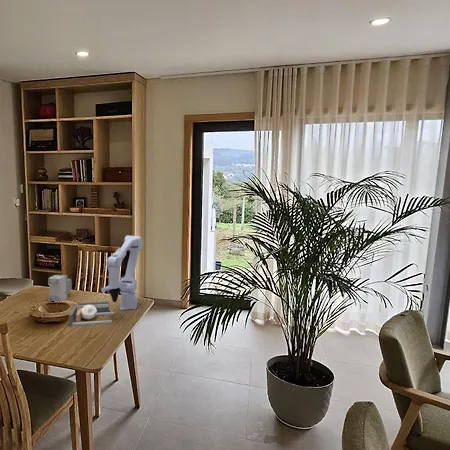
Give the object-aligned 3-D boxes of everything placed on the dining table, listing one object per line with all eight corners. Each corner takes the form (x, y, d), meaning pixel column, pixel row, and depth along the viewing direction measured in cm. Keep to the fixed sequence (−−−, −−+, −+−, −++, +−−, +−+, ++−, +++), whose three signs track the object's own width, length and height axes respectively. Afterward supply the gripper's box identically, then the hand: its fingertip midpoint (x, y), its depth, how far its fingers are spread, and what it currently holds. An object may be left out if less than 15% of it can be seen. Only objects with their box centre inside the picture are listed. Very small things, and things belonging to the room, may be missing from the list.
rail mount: (114, 310, 187) (114, 301, 186) (111, 322, 171) (111, 312, 170) (76, 313, 182) (75, 303, 181) (69, 325, 166) (68, 315, 165)
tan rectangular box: (82, 316, 177) (82, 308, 176) (79, 323, 169) (79, 314, 168) (79, 317, 177) (79, 308, 176) (76, 323, 169) (76, 314, 168)
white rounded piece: (83, 323, 170) (83, 309, 169) (79, 318, 176) (78, 304, 175) (98, 319, 176) (98, 305, 175) (93, 314, 181) (93, 301, 180)
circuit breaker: (73, 294, 211) (72, 272, 209) (60, 302, 197) (59, 279, 195) (62, 293, 212) (61, 271, 210) (48, 301, 198) (47, 278, 196)
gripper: (121, 273, 183) (122, 296, 185) (98, 279, 172) (98, 303, 174) (128, 276, 179) (129, 299, 181) (105, 282, 168) (105, 306, 170)
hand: (114, 301), depth 177 cm, fingers closed
